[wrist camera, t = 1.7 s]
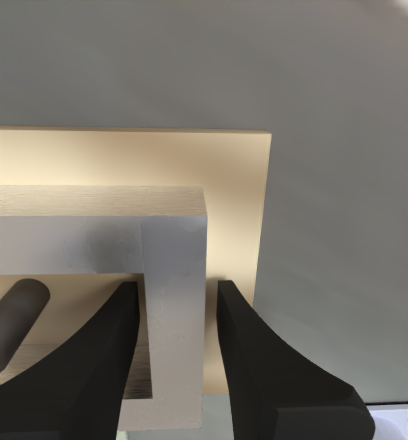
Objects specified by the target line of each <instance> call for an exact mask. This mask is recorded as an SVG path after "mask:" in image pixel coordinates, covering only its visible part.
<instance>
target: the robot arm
mask: <svg viewBox="0 0 408 440" xmlns="http://www.w3.org/2000/svg"><path fill="white" fill-rule="evenodd" d="M216 321H217V333H218V341H219V346H220V351H221V356H222V360H223V365H224V370H225V375H226V380H227V385H228V390H229V396H230V405H231V414H232V423H233V432H234V440H408V404H400V405H374V406H366V405H365V404H364V402H363V400H362V399H361V397H360V396H359V395H358V393H357V392H356V390H355V389H354V387H353V386H351V385H350V384H348V383H346V382H344V381H342V380H341V379H339V378H337V377H335V376H334V375H332V374H330V373H328V372H327V371H325V370H323V369H322V368H320V367H319V366H317V365H316V364H314V363H313V362H311V361H310V360H308V359H307V358H305V357H304V356H303V355H301V354H300V353H299V352H297V351H296V350H295V349H293V348H292V347H291V346H290V345H288V344H287V343H286V342H285V341H284V340H282V339H281V338H280V337H279V336H278V335H277V334H276V333H275V332H274V331H273V330H272V329H271V328H270V327H269V326H268V325H267V324H266V323H265V322H264V321H263V320H262V319H261V318H260V316H259V315H258V314H257V313H256V312H255V311H254V309H253V308H252V307H251V306H250V304H249V303H248V302H247V300H246V299H245V298H244V296H243V295H242V294H241V292H240V291H239V289H238V288H237V286H236V285H235V283H234V282H233V281H232V280H218V290H217V310H216ZM139 325H140V309H139V297H138V285H137V281H129V282H122V283H121V284H120V285H119V286H118V288H117V289H116V290H115V291H114V293H113V294H112V295H111V296H110V297H109V298H108V300H107V301H106V302H105V303H104V304H103V305H102V306H101V308H100V309H99V310H98V311H97V312H96V313H95V314H94V315H93V316H92V317H91V318H90V319H89V320H88V321H87V322H86V323H85V324H84V325H83V326H82V327H81V328H80V329H79V330H78V331H77V332H76V333H75V334H73V335H72V336H71V337H70V338H69V339H68V340H66V341H65V342H64V343H63V344H62V345H60V346H59V347H58V348H56V349H55V350H54V351H52V352H51V353H50V354H48V355H47V356H45V357H44V358H43V359H41V360H40V361H38V362H37V363H36V364H34V365H32V366H31V367H29V368H28V369H26V370H25V371H23V372H21V373H20V374H18V375H17V376H15V377H13V378H12V379H10V380H8V381H6V382H5V383H3V384H1V385H0V440H116V436H117V429H118V423H119V417H120V411H121V405H122V399H123V395H124V390H125V386H126V383H127V379H128V375H129V371H130V367H131V363H132V360H133V356H134V352H135V348H136V344H137V339H138V332H139Z"/></svg>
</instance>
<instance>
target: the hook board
mask: <svg viewBox="0 0 408 440" xmlns="http://www.w3.org/2000/svg"><path fill="white" fill-rule="evenodd" d="M270 143H271V134H270V133H269V132H267V131H265V130H240V129H178V128H116V127H55V126H0V185H134V186H203V191H204V197H205V203H206V209H207V215H208V221H207V255H206V289H205V323H204V357H203V392H202V394H223V393H229V390H228V385H227V380H226V375H225V370H224V365H223V360H222V356H221V351H220V346H219V341H218V333H217V321H216V310H217V290H218V280H232V281H233V282H234V283H235V285H236V286H237V288H238V289H239V291H240V292H241V294H242V295H243V296H244V298H245V299H246V300H247V302H248V303H249V304H250V306H251V307H253V297H254V288H255V279H256V270H257V261H258V252H259V243H260V234H261V225H262V216H263V206H264V197H265V188H266V179H267V170H268V161H269V152H270ZM129 281H137V285H138V297H139V309H140V325H139V332H138V339H137V342H138V341H149V337H148V323H147V309H146V295H145V280H144V273H111V274H28V275H0V372H2V371H3V370H4V369H5V368H6V367H7V365H8V364H9V362H10V360H11V359H12V357H13V356H14V354H15V353H16V351H17V350H18V348H19V347H20V345H21V344H59V343H64V342H65V341H66V340H68V339H69V338H70V337H71V336H72V335H73V334H75V333H76V332H77V331H78V330H79V329H80V328H81V327H82V326H83V325H84V324H85V323H86V322H87V321H88V320H89V319H90V318H91V317H92V316H93V315H94V314H95V313H96V312H97V311H98V310H99V309H100V308H101V306H102V305H103V304H104V303H105V302H106V301H107V300H108V298H109V297H110V296H111V295H112V294H113V293H114V291H115V290H116V289H117V288H118V286H119V285H120V284H121V283H122V282H129Z"/></svg>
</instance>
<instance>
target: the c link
mask: <svg viewBox="0 0 408 440" xmlns="http://www.w3.org/2000/svg"><path fill="white" fill-rule="evenodd" d="M207 221H208V215H207V209H206V203H205V197H204V191H203V186H134V185H0V275H28V274H111V273H144V280H145V295H146V309H147V323H148V337H149V341H138V342H137V344H136V348H135V352H134V356H133V360H132V363H131V367H130V371H129V375H128V379H127V383H126V386H125V390H124V395H123V399H122V405H121V411H120V417H119V423H118V429H117V432H118V431H142V430H165V429H189V428H201V426H202V392H203V357H204V323H205V289H206V255H207ZM62 344H63V343H59V344H21V345H20V347H19V348H18V350H17V351H16V353H15V354H14V356H13V357H12V359H11V360H10V362H9V364H8V365H7V367H6V368H5V369H4V370H3V371H2V372H0V385H1V384H3V383H5V382H6V381H8V380H10V379H12V378H13V377H15V376H17V375H18V374H20V373H21V372H23V371H25V370H26V369H28V368H29V367H31V366H32V365H34V364H36V363H37V362H38V361H40V360H41V359H43V358H44V357H45V356H47V355H48V354H50V353H51V352H52V351H54V350H55V349H56V348H58V347H59V346H60V345H62Z"/></svg>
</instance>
